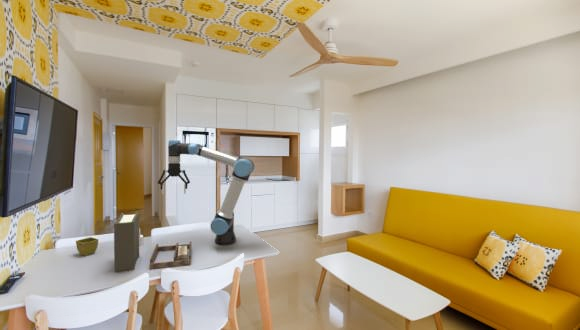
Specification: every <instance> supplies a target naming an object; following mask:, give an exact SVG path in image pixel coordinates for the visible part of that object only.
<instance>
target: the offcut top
mask: <svg viewBox="0 0 580 330" xmlns="http://www.w3.org/2000/svg"><path fill="white" fill-rule="evenodd" d="M177 257H178V259H181V258H187V259H188V249H187V245H186V246H178V255H177Z"/></svg>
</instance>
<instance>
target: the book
mask: <svg viewBox="0 0 580 330" xmlns="http://www.w3.org/2000/svg"><path fill="white" fill-rule="evenodd" d="M139 228H140V212H139V211H136V212H135V213H134V214H125V212H121V213H120V215H119V217H118V219H117V220H115V222H114V223H113V241H114V242H113V248H114V249H113V250H114V254H113V255H114V258H113V261H114V262H113V263H114V268H113V269H114V273H122V272H123V273H125V271H126V272H130V270H131V271H134V270H135V269H136V264H137V261H138V259H139V257H140V247H139Z"/></svg>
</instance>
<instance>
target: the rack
mask: <svg viewBox="0 0 580 330" xmlns="http://www.w3.org/2000/svg"><path fill="white" fill-rule="evenodd" d="M186 245H187V250H188V259H187V260H180V261H177V257H178V246H186ZM154 247H155V248H154V250H153V251H152V254H151V256H150V258H149V270H157V269H168V268H176V267H184V266H185V267H186V266H191V264H192V263H191V262H192V241H189V243H186V244H179V242H176V244H174V245H173V244H172V245H164V246H163V245H161V246H159V243H157V244H156V245H155V246H154ZM167 251H168V252H169V251H174V253H173V261H162V262H161V261H160V262H155V261H156V259H157V256H158V254H159V253H160V252H167Z"/></svg>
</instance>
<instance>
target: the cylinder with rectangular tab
mask: <svg viewBox="0 0 580 330" xmlns="http://www.w3.org/2000/svg"><path fill="white" fill-rule="evenodd" d="M142 246H144V235H143V234H141V228H140V227H139V248H140V247H142Z"/></svg>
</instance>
